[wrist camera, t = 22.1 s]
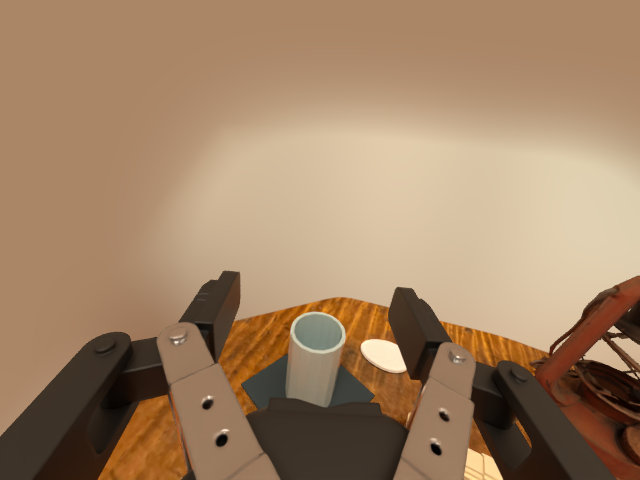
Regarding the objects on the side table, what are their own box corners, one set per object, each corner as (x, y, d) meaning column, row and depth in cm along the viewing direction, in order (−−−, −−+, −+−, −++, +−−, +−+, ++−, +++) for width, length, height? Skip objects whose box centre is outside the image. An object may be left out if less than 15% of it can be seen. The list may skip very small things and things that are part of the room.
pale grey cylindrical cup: (307, 426, 28) (317, 363, 24) (275, 387, 32) (279, 326, 28) (342, 392, 32) (356, 334, 28) (310, 361, 36) (318, 305, 32)
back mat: (304, 475, 24) (304, 474, 24) (241, 384, 32) (241, 383, 32) (374, 396, 33) (374, 395, 32) (311, 338, 40) (311, 337, 40)
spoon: (494, 411, 32) (496, 408, 32) (357, 360, 37) (357, 358, 37) (484, 376, 37) (486, 373, 37) (363, 335, 42) (364, 332, 41)
